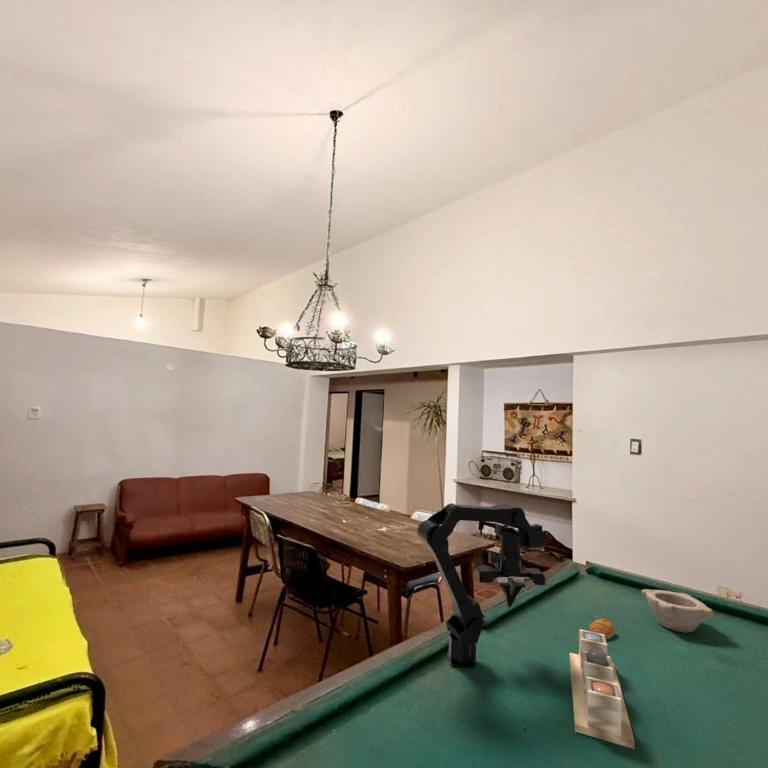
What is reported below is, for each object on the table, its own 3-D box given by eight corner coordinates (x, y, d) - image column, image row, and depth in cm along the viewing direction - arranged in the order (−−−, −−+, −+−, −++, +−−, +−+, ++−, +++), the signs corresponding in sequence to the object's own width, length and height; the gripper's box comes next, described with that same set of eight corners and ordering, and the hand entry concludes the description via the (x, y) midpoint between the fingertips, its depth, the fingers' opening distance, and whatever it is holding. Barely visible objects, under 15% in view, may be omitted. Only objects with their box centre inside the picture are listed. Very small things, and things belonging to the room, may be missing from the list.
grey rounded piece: (588, 674, 102) (588, 655, 102) (587, 665, 105) (587, 647, 106) (607, 679, 100) (607, 659, 100) (605, 670, 104) (605, 651, 104)
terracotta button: (593, 712, 90) (593, 690, 91) (591, 701, 94) (591, 680, 94) (614, 718, 89) (614, 696, 89) (611, 707, 93) (612, 685, 93)
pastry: (607, 645, 128) (607, 631, 128) (584, 636, 132) (584, 623, 133) (616, 634, 134) (616, 622, 135) (594, 626, 139) (594, 614, 139)
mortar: (688, 618, 149) (688, 591, 150) (719, 642, 132) (718, 612, 133) (637, 612, 151) (637, 585, 152) (660, 635, 135) (660, 605, 136)
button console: (575, 731, 90) (575, 689, 91) (569, 658, 119) (570, 626, 119) (634, 749, 86) (634, 704, 87) (613, 668, 115) (614, 635, 115)
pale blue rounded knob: (584, 656, 113) (585, 638, 113) (583, 649, 116) (584, 632, 117) (601, 660, 111) (601, 642, 111) (600, 652, 115) (600, 635, 115)
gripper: (532, 543, 129) (531, 596, 128) (471, 540, 129) (469, 593, 128) (547, 554, 118) (546, 612, 117) (480, 551, 118) (478, 610, 117)
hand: (509, 606), depth 120 cm, fingers closed
